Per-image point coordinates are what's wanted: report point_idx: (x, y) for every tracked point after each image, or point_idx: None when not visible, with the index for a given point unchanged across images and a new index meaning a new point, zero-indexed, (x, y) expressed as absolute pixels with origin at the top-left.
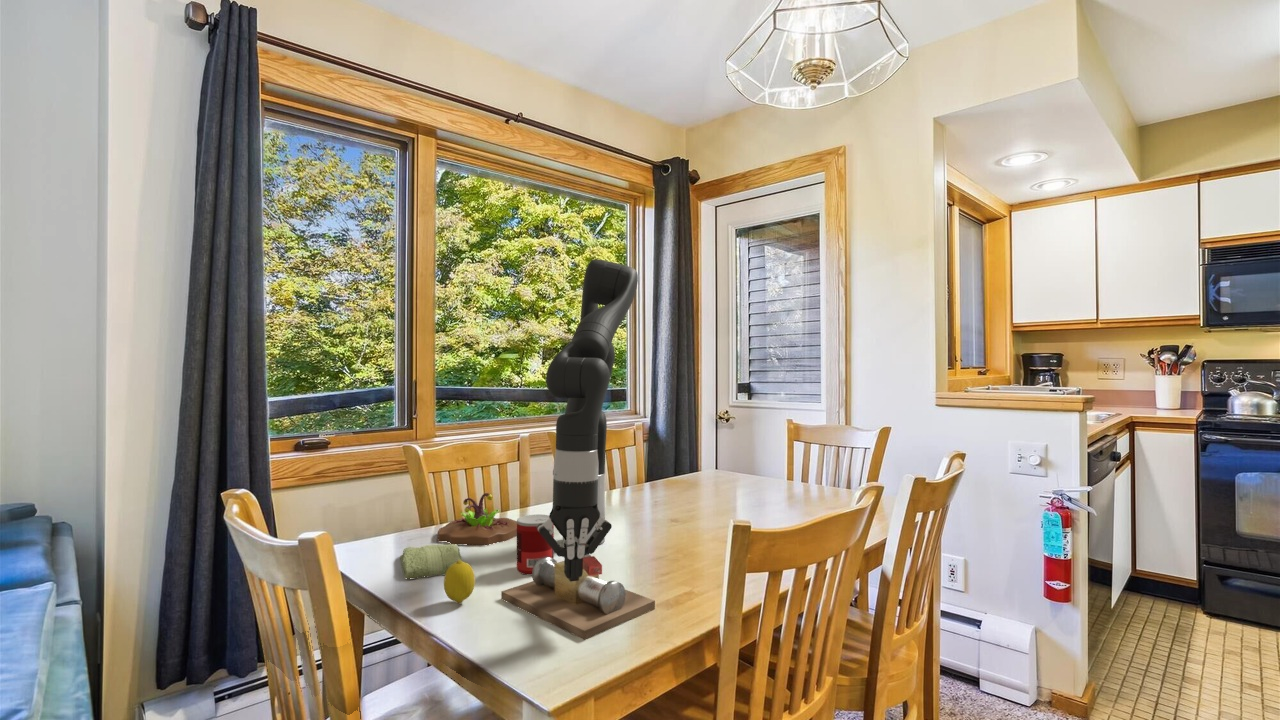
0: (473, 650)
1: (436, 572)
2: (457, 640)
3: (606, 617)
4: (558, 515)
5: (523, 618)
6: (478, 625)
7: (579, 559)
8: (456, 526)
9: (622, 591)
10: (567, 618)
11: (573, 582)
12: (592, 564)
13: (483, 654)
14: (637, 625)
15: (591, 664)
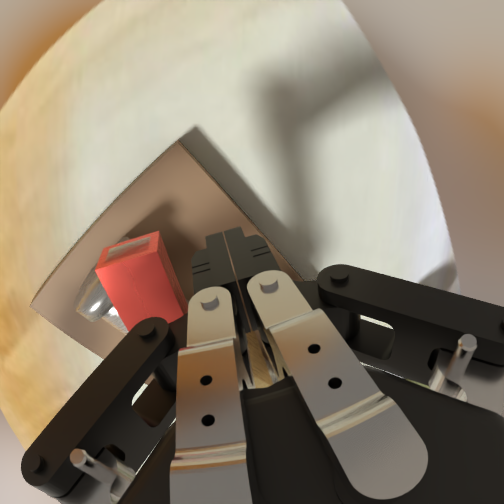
0: (406, 131)
1: (409, 380)
2: (425, 177)
3: (121, 222)
4: (490, 469)
5: (317, 258)
6: (393, 231)
7: (213, 286)
8: None
9: (79, 297)
10: (225, 218)
11: None
12: (143, 281)
13: (392, 110)
14: (55, 217)
15: (166, 22)
